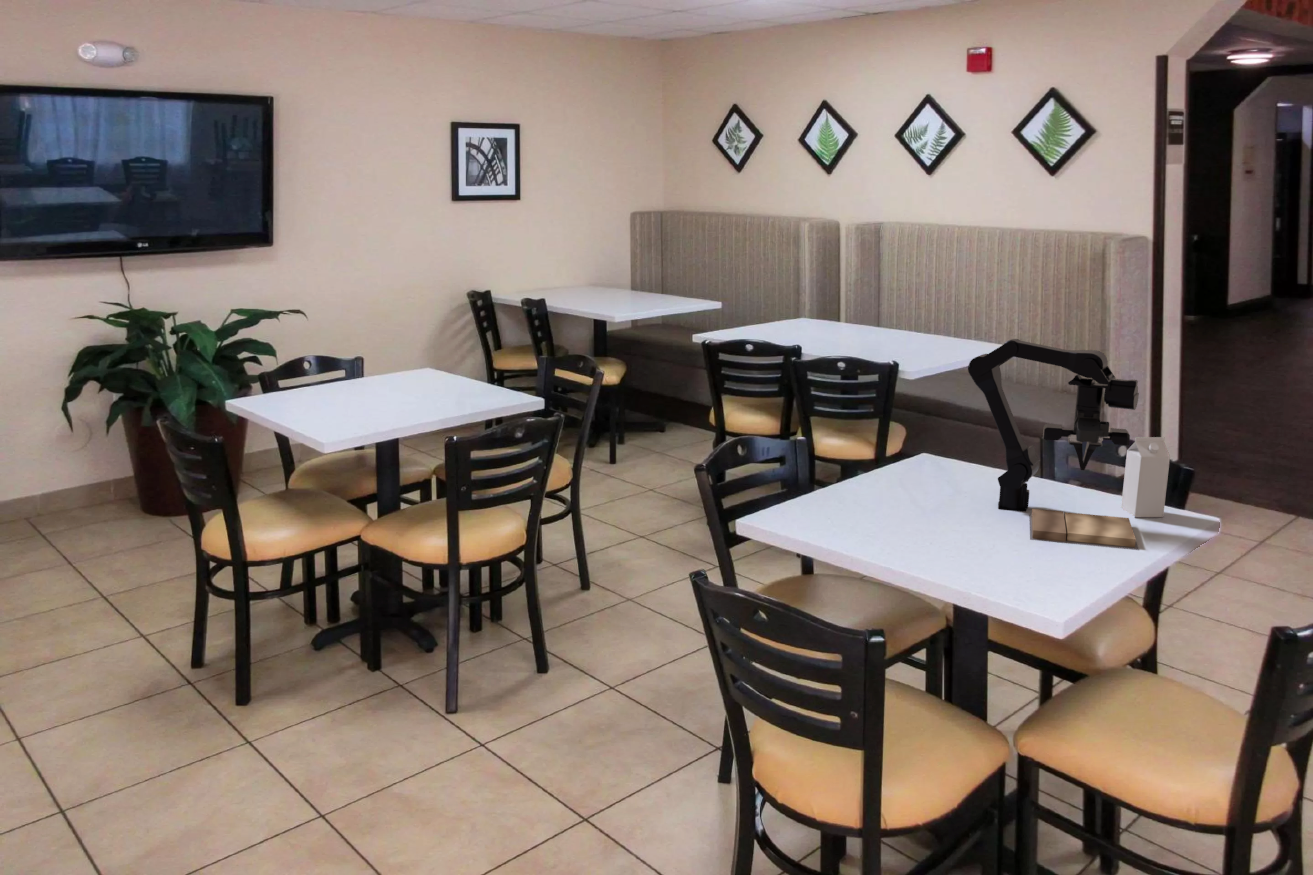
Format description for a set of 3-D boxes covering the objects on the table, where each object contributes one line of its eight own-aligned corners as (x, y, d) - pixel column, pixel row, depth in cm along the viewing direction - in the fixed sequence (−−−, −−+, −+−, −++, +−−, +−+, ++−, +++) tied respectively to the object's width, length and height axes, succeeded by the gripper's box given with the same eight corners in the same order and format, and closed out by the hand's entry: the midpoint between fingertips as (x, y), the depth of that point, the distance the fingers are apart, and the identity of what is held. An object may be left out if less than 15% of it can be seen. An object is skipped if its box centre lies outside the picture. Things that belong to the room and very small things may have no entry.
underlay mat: (1029, 541, 249) (1030, 539, 249) (1029, 516, 268) (1029, 515, 267) (1138, 551, 242) (1139, 549, 242) (1130, 525, 261) (1130, 524, 261)
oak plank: (1066, 540, 248) (1067, 532, 248) (1064, 519, 264) (1064, 512, 263) (1134, 547, 244) (1135, 539, 243) (1127, 525, 260) (1128, 517, 259)
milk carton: (1120, 509, 274) (1128, 434, 270) (1148, 509, 275) (1157, 434, 271) (1134, 518, 267) (1143, 440, 263) (1163, 517, 268) (1172, 440, 264)
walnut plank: (1032, 538, 250) (1033, 530, 249) (1031, 516, 266) (1032, 508, 266) (1065, 541, 248) (1066, 533, 247) (1062, 519, 264) (1063, 511, 264)
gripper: (1047, 408, 255) (1041, 474, 259) (1135, 414, 250) (1128, 481, 253) (1045, 400, 266) (1040, 463, 269) (1130, 405, 260) (1123, 470, 264)
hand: (1082, 470), depth 264 cm, fingers closed
